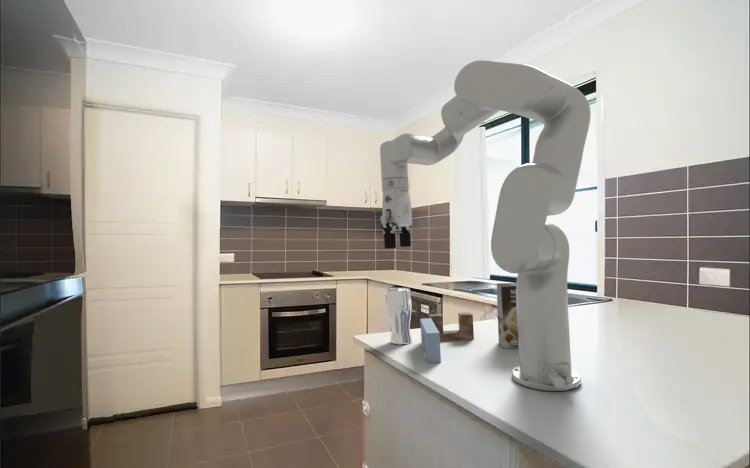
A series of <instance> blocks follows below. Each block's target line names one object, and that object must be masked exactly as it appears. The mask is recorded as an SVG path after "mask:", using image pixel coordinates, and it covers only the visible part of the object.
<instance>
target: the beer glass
mask: <svg viewBox="0 0 750 468" xmlns="http://www.w3.org/2000/svg"><path fill="white" fill-rule="evenodd" d="M412 306H413V305H412V296H411V289H410V287H393V288H388V289H387V290H386V309H387V315H388V319H389V323H390V330H391V331H390V332H391V333H390V344H392V343H393V344H392V345H395V344H398V345H397V346H403V345H402V344H406V345H410V344H411V343H412V341H413V340H412V335H411V318H412ZM409 343H410V344H409Z"/></svg>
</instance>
